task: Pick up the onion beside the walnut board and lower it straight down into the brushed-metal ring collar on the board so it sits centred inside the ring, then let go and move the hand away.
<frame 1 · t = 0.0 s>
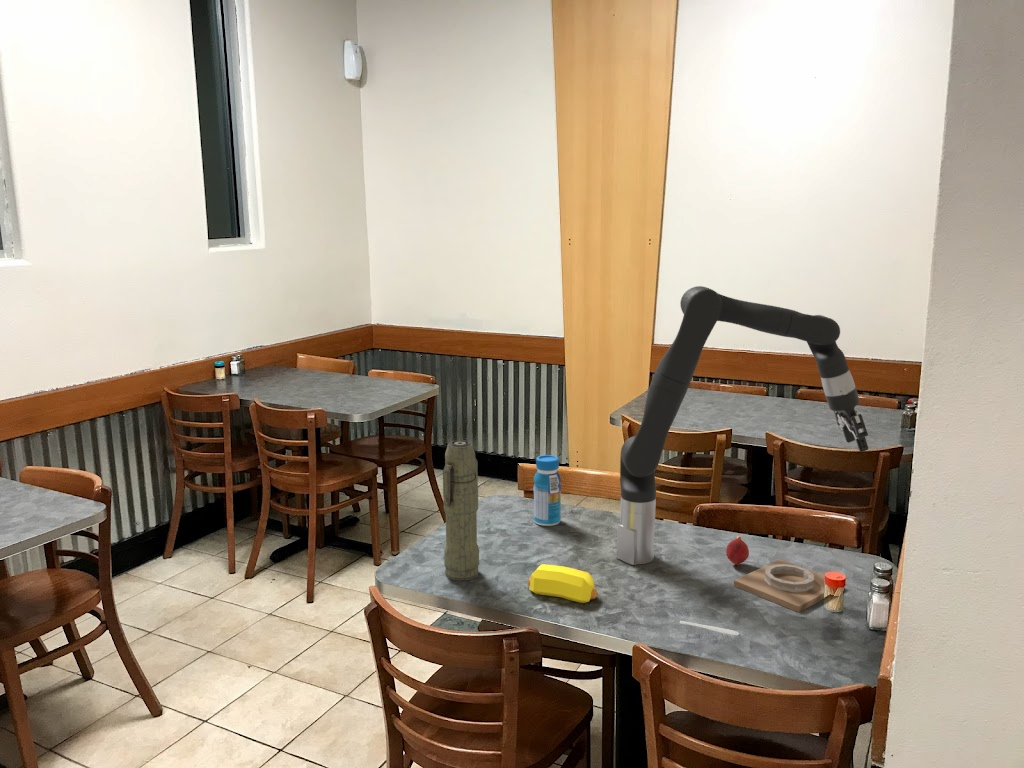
hand: (857, 445, 213), 31 cm above the table, tool tilted 20°, fingers open, 8 cm apart
mount board: (788, 587, 203), on the table
onion: (736, 565, 216), on the table
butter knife: (678, 623, 186), on the table
low-poly banana: (562, 595, 199), on the table
thermos: (462, 573, 211), on the table
beverage bottle: (547, 522, 246), on the table
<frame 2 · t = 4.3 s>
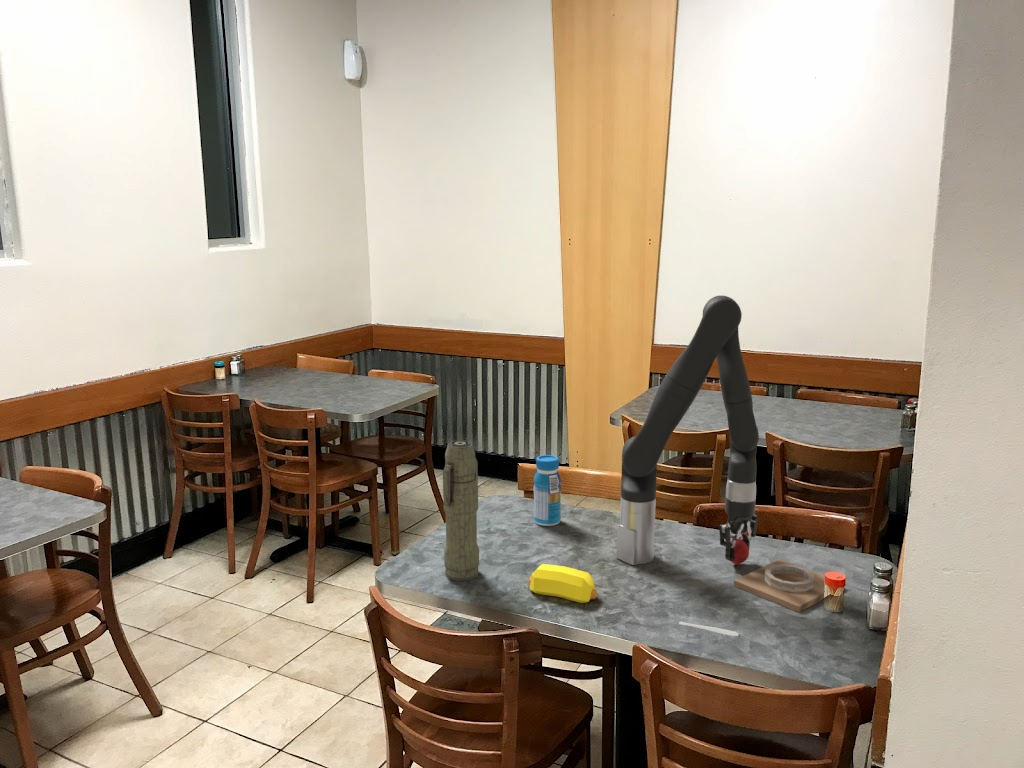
hand: (737, 556, 215), 2 cm above the table, tool pointing down, fingers closed on onion, 6 cm apart
onion: (736, 565, 216), on the table, touching gripper
everything else where it was.
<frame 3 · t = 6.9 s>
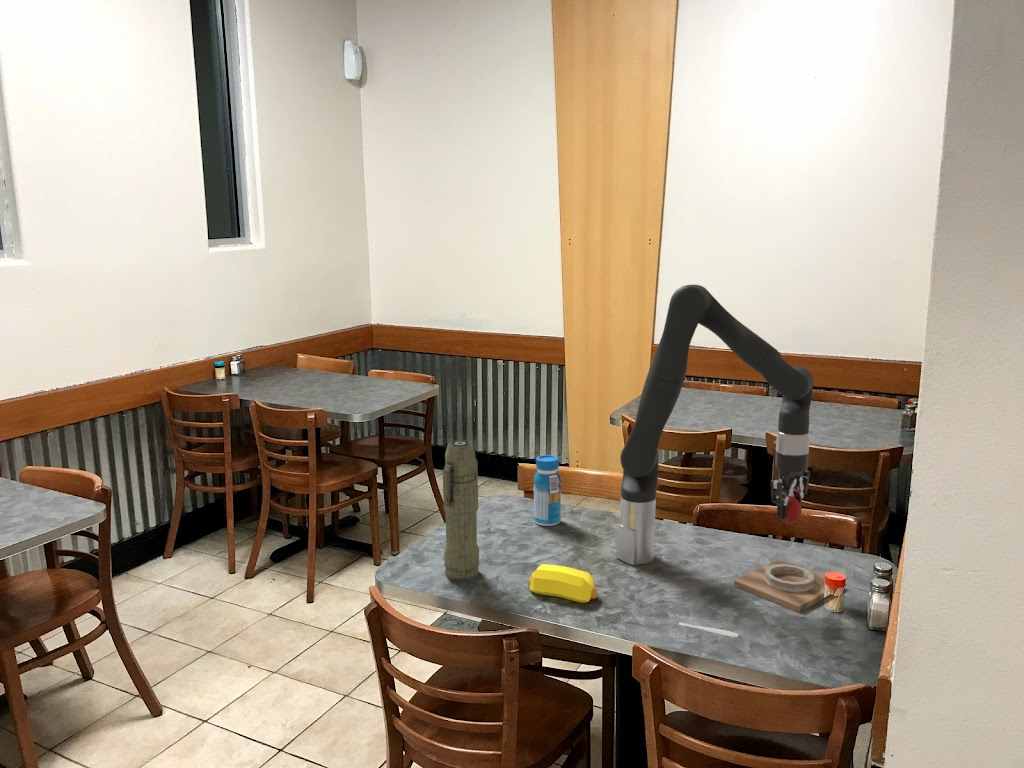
hand: (788, 515, 201), 18 cm above the table, tool pointing down, fingers closed on onion, 6 cm apart
onion: (788, 525, 201), point 16 cm above the table, touching gripper
everything else where it was.
when the fingers open (5 cm above the table, at t = 9.6 s): onion drops 1 cm, resting on mount board.
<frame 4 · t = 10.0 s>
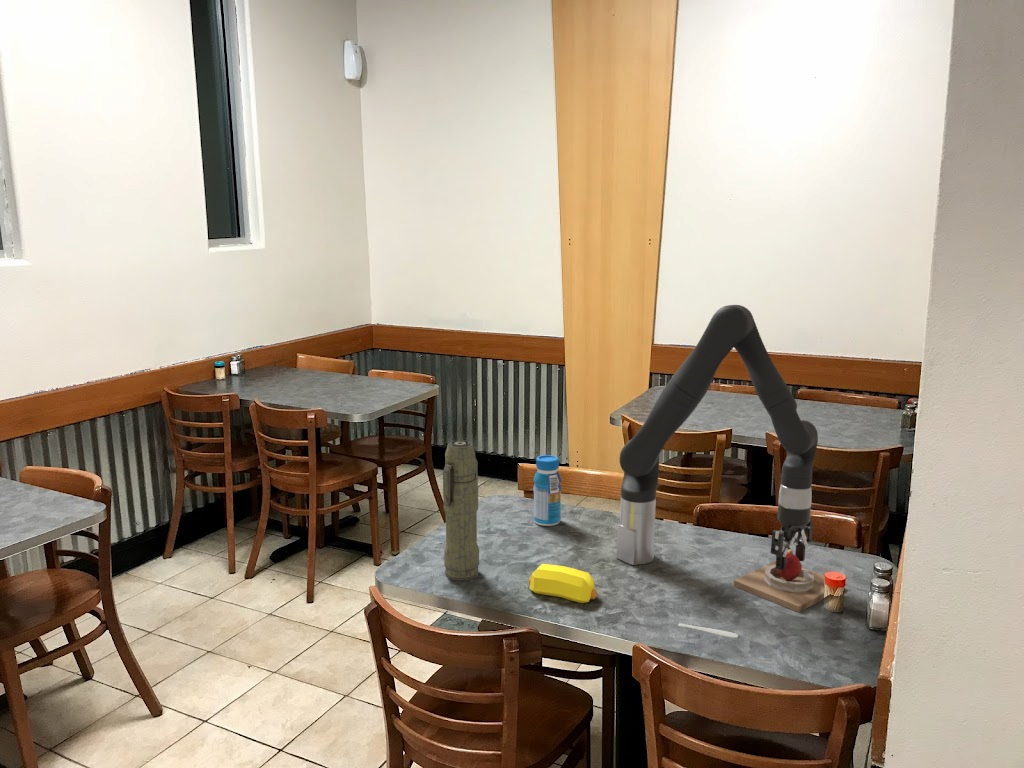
hand: (790, 564, 202), 6 cm above the table, tool pointing down, fingers open, 8 cm apart
onion: (788, 581, 203), point 1 cm above the table, touching mount board
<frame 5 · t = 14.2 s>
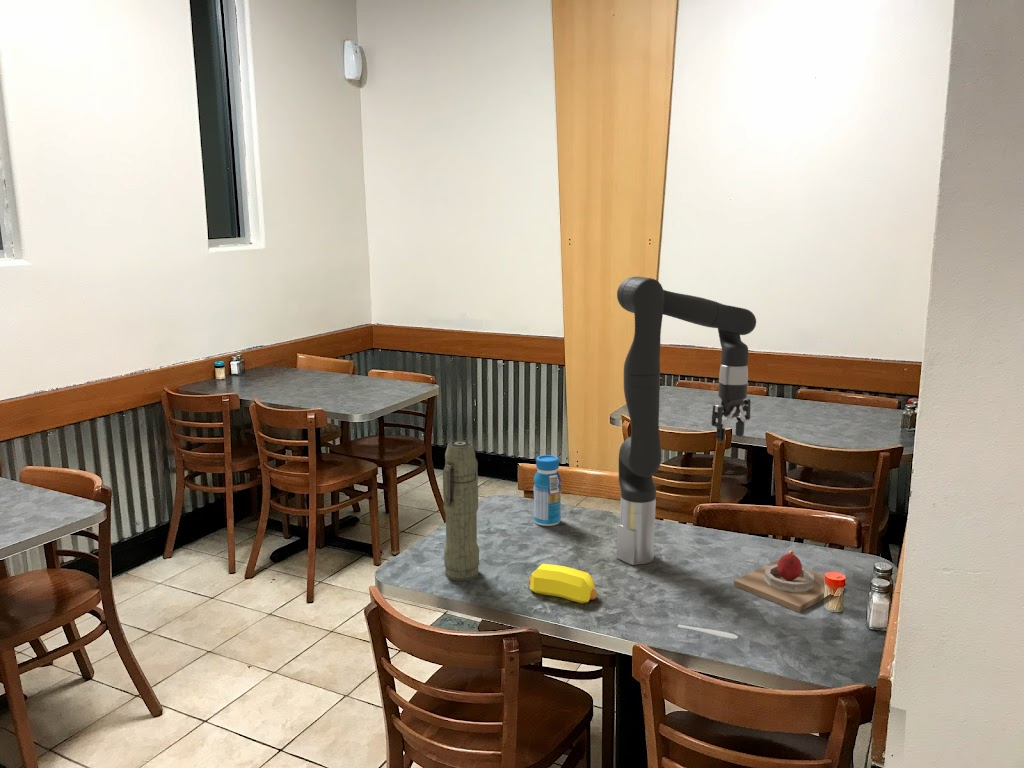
hand: (730, 438, 225), 30 cm above the table, tool pointing down, fingers open, 8 cm apart
at the end: onion 0.1 cm off-centre on the mount board, point 1.3 cm above the mount board's base; onion touching mount board; the gripper is holding nothing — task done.
